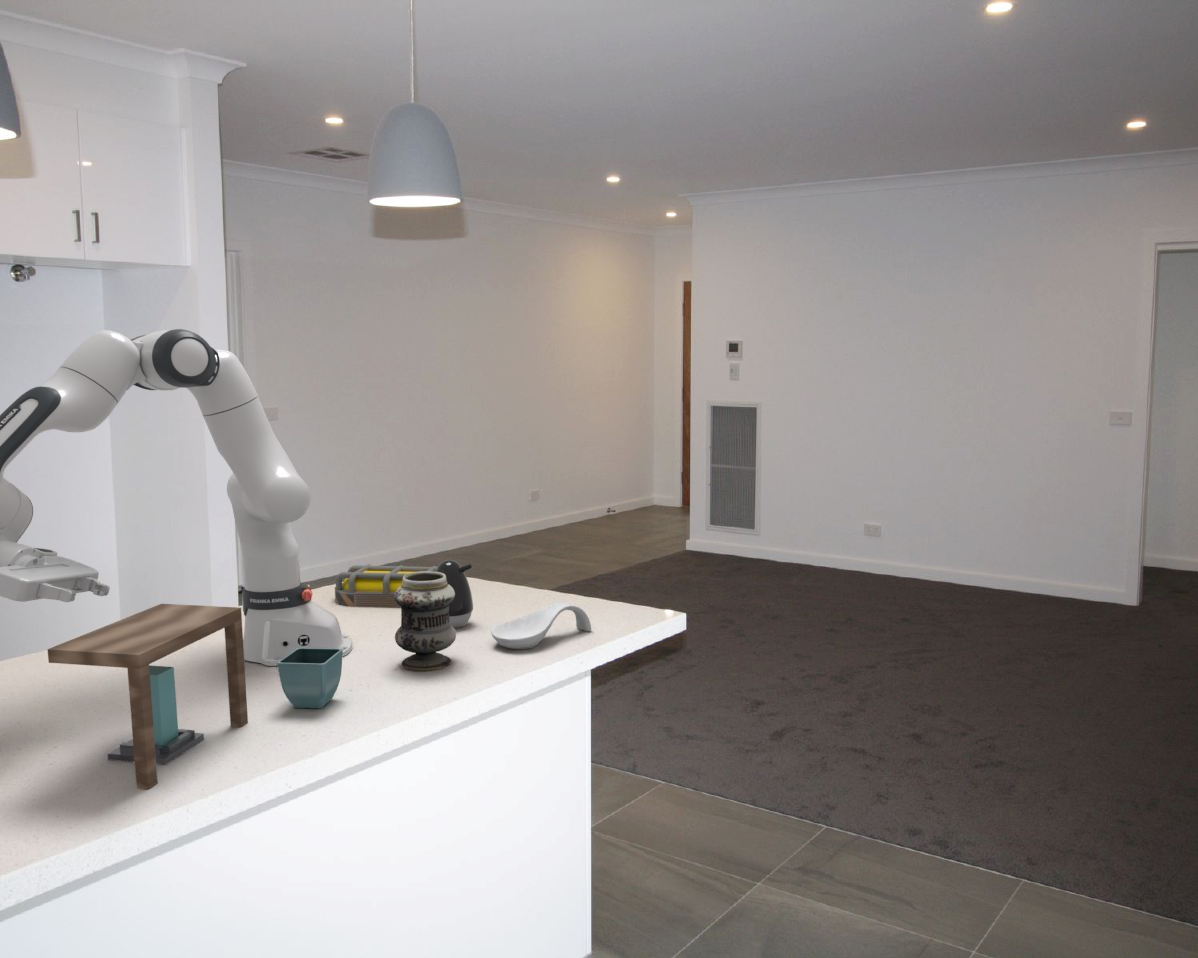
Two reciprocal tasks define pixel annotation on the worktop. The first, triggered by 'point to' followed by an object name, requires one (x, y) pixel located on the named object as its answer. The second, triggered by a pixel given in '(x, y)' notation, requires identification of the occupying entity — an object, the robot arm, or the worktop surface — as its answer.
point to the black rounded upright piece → (458, 592)
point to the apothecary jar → (425, 620)
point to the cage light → (372, 585)
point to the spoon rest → (535, 626)
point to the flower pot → (310, 676)
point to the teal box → (163, 704)
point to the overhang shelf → (147, 643)
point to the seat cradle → (160, 748)
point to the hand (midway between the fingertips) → (90, 594)
